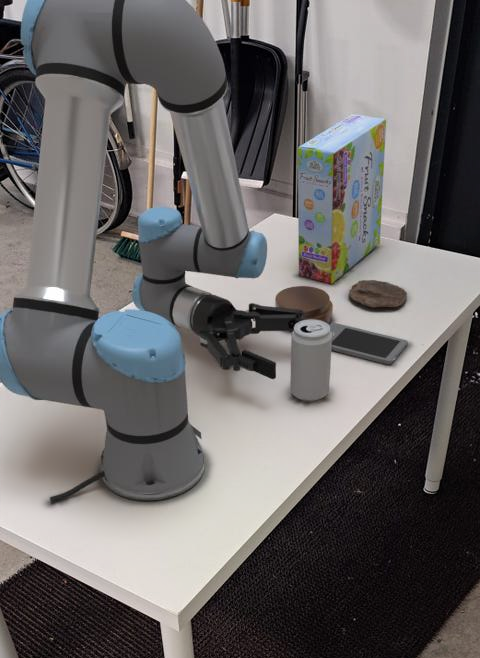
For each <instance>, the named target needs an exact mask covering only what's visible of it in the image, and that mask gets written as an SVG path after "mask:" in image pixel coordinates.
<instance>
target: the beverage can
mask: <svg viewBox="0 0 480 658" xmlns="http://www.w3.org/2000/svg"><path fill="white" fill-rule="evenodd" d="M329 325H330V324H329ZM329 325H328V324H327V323H326V322H323V321H320V320H314V319H310V320H303V321H300V322H298V323H297V324H296V325H295V326H294V331H293V332H291V335H290V337H291V338H290V339H291V340H290V342H291V343H290V381H289V382H290V383H289V385H290V387H289V389H290V390H289V391H290V392H291V394H292V395H293V396H294V397H295V398H296V399H298V400H300V401H304V402H315V401H319V400H321V399H323V398H325V397H326V396H328V394H329V391H330V379H331V365H332V364H331V363H332V350H331V347H332V333H331V331H330V326H329Z"/></svg>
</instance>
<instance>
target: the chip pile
mask: <svg viewBox="0 0 480 658" xmlns="http://www.w3.org/2000/svg"><path fill="white" fill-rule="evenodd" d="M274 300H275V301H274V307H279V308H289V309H299V310H303V319H304V320H310V319H314V320H320V321H323V322H326V323H327V324H328V325H330V324H331V318H332V316H333V312H334V310H333V309H334V305H333V302H332V301H331V298H330V295H329V293H327V291H325V290H323V289H321V288H318V287H315V286H309V285H308V286H307V285H297V286H290V287H286V288H284V289H282V290H280V291H278V292H277V294H276V295H275V298H274ZM289 332H290V333H292V332H293V331H289Z"/></svg>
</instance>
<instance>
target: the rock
mask: <svg viewBox="0 0 480 658" xmlns="http://www.w3.org/2000/svg"><path fill="white" fill-rule="evenodd" d="M348 296H349V298H350V299H351V300H352V301H354V302H356V303H359V304H361V305H364V306H366V307H369V308H397V307H399V306H401V305H402V304H404V303H405V301H406V299H407V298H408V293H407V291H406V290H405V289H403V288H401V287H400V286H398V285H395V284H392V283H391V282H388V281H381V280H376V279H367V280H365V279H363V280H359V281H357V282H356V283H355V284H353V285H351V289H349V291H348Z"/></svg>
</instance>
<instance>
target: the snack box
mask: <svg viewBox="0 0 480 658" xmlns="http://www.w3.org/2000/svg"><path fill="white" fill-rule="evenodd" d="M386 131H387V118H384V117H383V118H382V117H375V116H374V117H373V116H369V115H368V116H367V115H362V114H356V113H355V114H353V113H351V114H349V115H348V116H347V117H345V118H343V119H341V120H340V121H338V122H337V123H335V124H333V125H332V126H330V127H329V128H326V129H325V130H324V131H322V132H321V133H319V134H317V135H315V136H314V137H312V138H311V139H309V140H307V141H306V142H304V143H302V144H301V145H299V146H298V147H297V204H298V206H297V207H298V211H297V212H298V215H297V217H298V218H297V219H298V220H297V224H298V226H297V227H298V230H297V231H298V276H299V277H302V278H307V279H311V280H315V281H320V282H323V283H326V284H330V285H333V283H335V282H336V281H337V280H339V278H341V277H342V276H343V275H344V274H345V273H347V271H349V270H351V268H352V267H354V266H355V265H356V264H357V263H359V261H361V260H362V259H363V258H364V257H365V256H367V255H368V254H369V253H370V252H371V251H372V250H374V249H375V248H376V247H377V246H379V245H380V244H381V225H382V209H383V207H382V206H383V189H384V188H383V187H384V173H385V171H384V170H385V149H386V134H387V133H386Z"/></svg>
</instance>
